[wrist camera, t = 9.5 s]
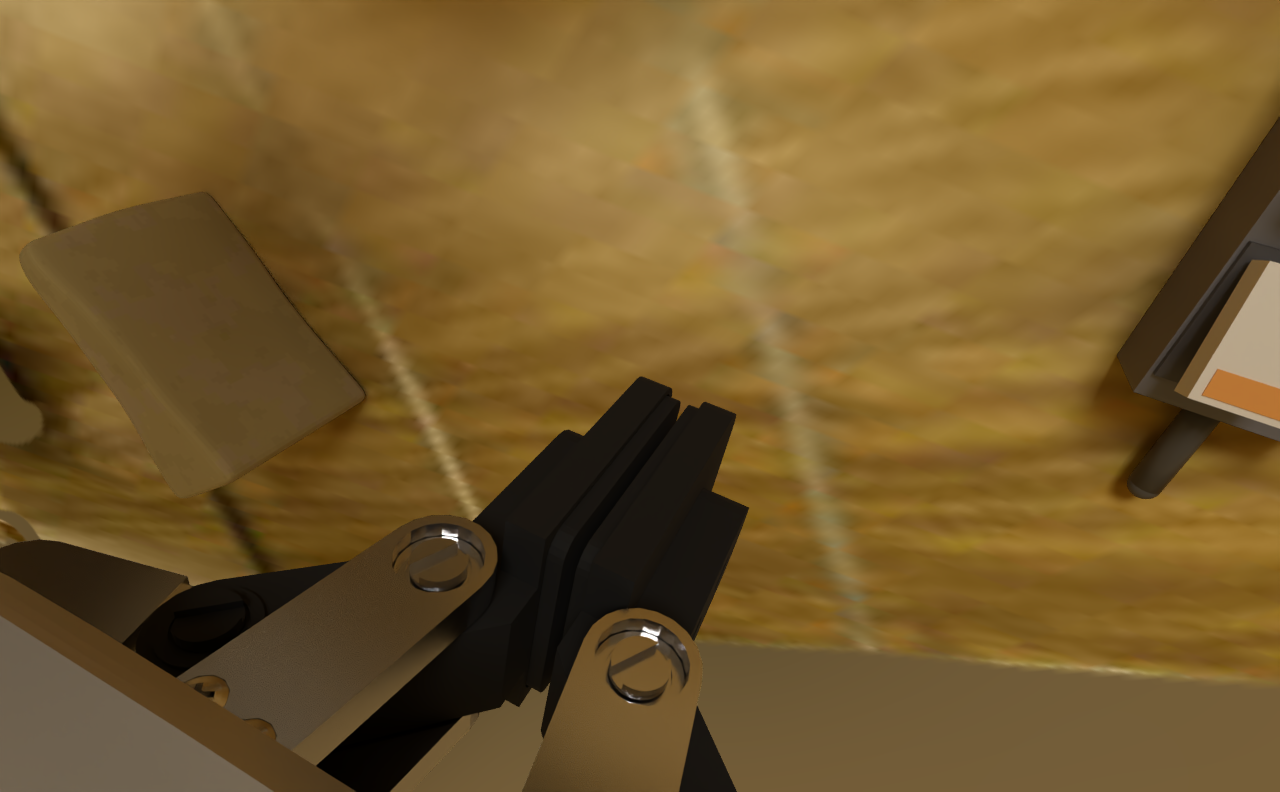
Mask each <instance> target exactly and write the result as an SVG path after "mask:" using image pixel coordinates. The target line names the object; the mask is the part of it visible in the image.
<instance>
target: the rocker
mask: <svg viewBox="0 0 1280 792" xmlns="http://www.w3.org/2000/svg"><path fill="white" fill-rule="evenodd" d="M1174 391H1176V392H1177V393H1179V394H1181V395H1183V396H1185V397H1187V398H1190V399H1193V400H1196V401H1199V402H1202V403H1205V404H1208V405H1211V406H1214V407H1217V408H1220V409H1223V410H1226V411H1229V412H1232V413H1234V414H1237V415H1240V416H1243V417H1246V418H1249V419H1252V420H1255V421H1258V422H1261V423H1264V424H1267V425H1270V426H1273V427H1276V428H1279V429H1280V263H1276V262H1273V261H1266V260H1251V262H1250V264H1249V265H1248V267H1247V269H1246V271H1245V272H1244V274H1243V276H1242V277H1241V279H1240V281H1239V282H1238V284H1237V286H1236V287H1235V289H1234V291H1233V292H1232V294H1231V296H1230V297H1229V299H1228V301H1227V302H1226V304H1225V306H1224V307H1223V309H1222V311H1221V313H1220V314H1219V316H1218V318H1217V319H1216V321H1215V323H1214V324H1213V326H1212V328H1211V329H1210V331H1209V333H1208V334H1207V336H1206V338H1205V339H1204V341H1203V343H1202V344H1201V346H1200V348H1199V349H1198V351H1197V353H1196V354H1195V356H1194V358H1193V360H1192V361H1191V363H1190V365H1189V366H1188V368H1187V370H1186V371H1185V373H1184V375H1183V376H1182V378H1181V380H1180V381H1179V383H1178V385H1177V386H1176V388H1175V390H1174Z"/></svg>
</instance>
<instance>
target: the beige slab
mask: <svg viewBox="0 0 1280 792" xmlns="http://www.w3.org/2000/svg"><path fill="white" fill-rule="evenodd" d="M20 263H21V266H22V269H23V270H24V272H25V274H26V276H27V278H28V279H29V281H30V283H31V284H32V286H33V287H34V288H35V290H36V291H37V292H38V294H39V295H40V296H41V298H42V299H43V300H44V301H45V303H46V304H47V305H48V306H49V308H50V309H51V310H52V311H53V313H54V314H55V315H56V316H57V318H58V319H59V320H60V322H61V323H62V324H63V326H64V327H65V328H66V329H67V331H68V332H69V333H70V335H71V336H72V337H73V339H74V340H75V342H76V343H77V344H78V346H79V347H80V348H81V350H82V351H83V352H84V354H85V355H86V357H87V358H88V359H89V361H90V362H91V363H92V365H93V366H94V367H95V369H96V370H97V371H98V373H99V374H100V376H101V377H102V378H103V380H104V381H105V382H106V384H107V385H108V387H109V388H110V389H111V391H112V392H113V394H114V395H115V397H116V398H117V399H118V401H119V402H120V404H121V405H122V407H123V408H124V410H125V412H126V413H127V415H128V416H129V418H130V420H131V421H132V423H133V425H134V426H135V428H136V430H137V432H138V433H139V435H140V437H141V439H142V441H143V442H144V444H145V446H146V448H147V450H148V451H149V453H150V455H151V457H152V458H153V460H154V462H155V464H156V465H157V467H158V469H159V471H160V472H161V474H162V475H163V477H164V479H165V480H166V482H167V484H168V485H169V487H170V488H171V490H172V491H173V492H174V494H175V495H176V496H178V497H180V498H189V497H193V496H196V495H199V494H202V493H205V492H208V491H210V490H213V489H216V488H219V487H222V486H225V485H227V484H229V483H231V482H233V481H235V480H237V479H238V478H240V477H242V476H243V475H245V474H246V473H248V472H250V471H251V470H253V469H254V468H256V467H258V466H259V465H261V464H262V463H264V462H266V461H267V460H269V459H270V458H272V457H274V456H275V455H277V454H278V453H280V452H282V451H283V450H285V449H287V448H288V447H290V446H291V445H293V444H295V443H296V442H298V441H299V440H301V439H303V438H304V437H306V436H307V435H309V434H311V433H312V432H314V431H315V430H317V429H319V428H320V427H322V426H323V425H325V424H327V423H328V422H330V421H331V420H333V419H335V418H336V417H338V416H339V415H341V414H343V413H344V412H346V411H347V410H349V409H351V408H352V407H354V406H355V405H357V404H359V403H360V402H361V401H362V400H363V399H364V398H365V393H364V391H363V389H362V388H361V387H360V386H359V384H358V383H357V382H356V381H355V380H354V378H353V377H352V376H351V375H350V374H349V373H348V371H347V370H346V369H345V368H344V367H343V366H342V365H341V363H340V362H339V361H338V360H337V359H336V358H335V356H334V355H333V354H332V353H331V352H330V351H329V349H328V348H327V347H326V346H325V345H324V344H323V342H322V341H321V340H320V339H319V338H318V337H317V335H316V334H315V333H314V332H313V331H312V329H311V328H310V327H309V326H308V325H307V323H306V322H305V321H304V320H303V318H302V317H301V316H300V315H299V313H298V312H297V311H296V310H295V308H294V307H293V306H292V304H291V303H290V302H289V300H288V299H287V298H286V296H285V295H284V294H283V292H282V291H281V290H280V288H279V287H278V285H277V284H276V283H275V281H274V280H273V278H272V277H271V275H270V274H269V272H268V271H267V270H266V268H265V267H264V265H263V264H262V262H261V261H260V260H259V258H258V257H257V255H256V254H255V253H254V251H253V250H252V248H251V247H250V246H249V244H248V243H247V242H246V240H245V239H244V238H243V236H242V235H241V234H240V233H239V231H238V230H237V229H236V227H235V226H234V225H233V223H232V222H231V221H230V220H229V218H228V217H227V216H226V214H225V213H224V212H223V211H222V209H221V208H220V207H219V205H218V204H217V203H216V202H215V201H214V199H213V198H212V197H211V196H210V195H208V194H206V193H203V192H199V193H194V194H189V195H184V196H179V197H175V198H170V199H165V200H160V201H156V202H151V203H147V204H142V205H138V206H134V207H130V208H126V209H122V210H119V211H116V212H112V213H109V214H106V215H103V216H100V217H97V218H94V219H92V220H89V221H86V222H83V223H81V224H78V225H75V226H72V227H70V228H67V229H64V230H61V231H59V232H56V233H53V234H50V235H47V236H45V237H42V238H39V239H36V240H34V241H31V242H30V243H28V244H27V245H26V246H25V247H24V248H23V249H22V251H21V253H20Z"/></svg>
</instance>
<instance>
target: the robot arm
mask: <svg viewBox="0 0 1280 792" xmlns="http://www.w3.org/2000/svg"><path fill="white" fill-rule="evenodd" d="M671 397H672V388H670V387H667V386H665V385H662V384H660V383H657V382H655V381H652V380H650V379H647V378H645V377H639V378H638V379H637V380H636V381H635V382H634V383H633V384H632V385H631V386H630V387H629V388H628V389H627V390H626V391H625V392H624V393H623V395H622V396H621V397H620V398H619V399H618V400H617V401H616V402H615V403H614V404H613V405H612V406H611V407H610V409H609V410H608V411H607V412H606V413H605V414H604V415H603V416H602V417H601V418H600V419H599V420H598V421H597V423H596V424H595V425H594V426H593V427H592V428H591V429H590V430H589V431H588V432H587V433H586V434H585V435H584V436H582V435H580V434H578V433H575V432H573V431H571V430H564V431H563V432H562V433H560V434H559V435H558V436H557V437H556V438H555V439H554V440H553V441H552V442H551V443H550V444H549V445H548V446H547V447H546V448H545V449H544V450H543V451H542V452H541V453H540V454H539V455H538V456H537V457H536V458H535V459H534V460H533V461H532V462H531V463H530V464H529V465H528V466H527V467H526V468H525V469H524V470H523V471H522V472H521V473H520V474H519V475H518V476H517V477H516V478H515V479H514V480H513V481H512V482H511V483H510V484H509V485H508V486H507V487H506V488H505V489H504V490H503V491H502V492H501V493H500V494H499V495H498V496H497V497H496V498H495V499H494V500H493V501H492V502H491V503H490V504H489V505H488V506H487V507H486V508H485V509H484V510H483V511H482V512H481V513H480V514H479V515H478V516H477V517H476V518H475V519H474V520H473V521H470V520H468V519H466V518H461V517H456V516H452V515H431V516H427V517H423V518H419V519H415V520H413V521H411V522H409V523H407V524H405V525H403V526H401V527H399V528H398V529H396V530H395V531H393V532H392V533H390V534H389V535H387V536H386V537H384V538H383V539H381V540H380V541H378V542H377V543H375V544H374V545H372V546H371V547H369V548H368V549H366V550H365V551H363V552H362V553H360V554H359V555H358V556H356V557H355V558H353V559H352V560H350V561H347V562H340V563H333V564H326V565H319V566H312V567H305V568H298V569H291V570H284V571H277V572H270V573H264V574H257V575H250V576H243V577H236V578H229V579H222V580H216V581H212V582H208V583H204V584H200V585H196V586H191V585H190V584H189V580H188V577H187V576H184V575H180V574H177V573H173V572H169V571H166V570H162V569H158V568H155V567H151V566H147V565H144V564H140V563H136V562H133V561H129V560H125V559H122V558H118V557H114V556H111V555H107V554H103V553H100V552H96V551H92V550H89V549H85V548H81V547H78V546H74V545H70V544H67V543H63V542H59V541H50V540H40V539H39V540H32V541H24V542H17V543H13V544H10V545H7V546H4V547H1V548H0V792H412V791H413V790H414V789H415V788H416V786H417V785H418V784H419V783H420V782H421V781H422V780H423V779H424V778H425V777H426V776H427V775H428V774H429V773H430V772H431V770H432V769H433V768H434V767H435V766H436V765H437V764H438V763H439V762H440V761H441V759H443V758H444V756H445V755H446V754H447V753H448V752H449V751H450V750H451V749H452V748H453V747H454V746H455V744H457V742H458V741H459V740H460V739H461V738H462V737H463V736H464V735H465V734H466V733H467V732H468V731H469V730H470V728H471V727H472V725H473V724H474V722H475V721H476V719H477V718H478V716H479V713H480V712H483V711H487V710H491V709H496V708H499V707H501V705H502V704H503V702H504V701H505V700H507V701H509V702H511V703H512V704H514V705H516V706H518V707H519V706H520V705H521V703H522V701H523V700H524V698H525V697H526V695H527V694H528V692H529V691H530V689H531V688H534V689H535V690H537V691H539V692H543V691H544V690H545V688H546V687H547V686H548V684H549V683H550V686H549V691H548V696H547V701H546V706H545V712H544V717H543V722H542V727H541V732H542V737H543V741H542V743H541V746H540V748H539V751H538V753H537V756H536V758H535V761H534V763H533V766H532V768H531V770H530V773H529V776H528V778H527V780H526V783H525V785H524V788H523V790H522V792H737V791H736V789H735V787H734V785H733V782H732V780H731V778H730V776H729V774H728V772H727V769H726V767H725V765H724V763H723V761H722V758H721V756H720V754H719V752H718V750H717V748H716V745H715V743H714V741H713V739H712V737H711V735H710V732H709V730H708V728H707V726H706V724H705V721H704V719H703V717H702V715H701V713H700V711H699V709H698V706H697V703H698V698H699V693H700V688H701V683H702V665H703V663H702V660H701V657H700V654H699V651H698V647H697V646H696V644H695V643H694V640H695V638H696V635H697V633H698V631H699V629H700V626H701V624H702V622H703V619H704V617H705V615H706V613H707V610H708V608H709V606H710V604H711V601H712V599H713V597H714V595H715V592H716V590H717V588H718V585H719V583H720V581H721V578H722V576H723V574H724V571H725V569H726V566H727V564H728V562H729V559H730V557H731V554H732V552H733V549H734V547H735V544H736V542H737V539H738V536H739V534H740V531H741V529H742V526H743V523H744V521H745V518H746V515H747V513H748V510H749V507H746V506H744V505H742V504H739V503H737V502H735V501H732V500H730V499H728V498H725V497H723V496H721V495H719V494H716V493H714V492H712V488H713V485H714V482H715V479H716V476H717V473H718V470H719V467H720V464H721V461H722V458H723V455H724V452H725V449H726V446H727V443H728V440H729V437H730V434H731V431H732V428H733V425H734V422H735V419H736V414H735V413H732V412H730V411H727V410H725V409H722V408H720V407H717V406H715V405H712V404H710V403H707V402H703V404H702V405H701V406H700V408H699V409H698V408H696V407H693V406H691V405H688V406H687V408H686V409H685V410H684V412H683V413H682V414H681V416H680V417H679V419H678V420H677V416H678V413H679V409H680V401H679V400H676V399H674V398H671ZM676 420H677V421H676Z"/></svg>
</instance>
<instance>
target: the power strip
mask: <svg viewBox="0 0 1280 792" xmlns="http://www.w3.org/2000/svg"><path fill="white" fill-rule="evenodd" d="M1251 260H1266V261H1273V262H1276V263H1280V117H1279V119H1278V120H1277V122H1276V123H1275V125H1274V126H1273V127H1272V129H1271V130H1270V132H1269V133H1268V135H1267V136H1266V138H1265V139H1264V141H1263V142H1262V144H1261V145H1260V146H1259V148H1258V149H1257V151H1256V152H1255V154H1254V155H1253V157H1252V158H1251V160H1250V161H1249V163H1248V164H1247V166H1246V167H1245V168H1244V170H1243V171H1242V173H1241V174H1240V176H1239V177H1238V179H1237V180H1236V182H1235V183H1234V185H1233V186H1232V187H1231V189H1230V190H1229V192H1228V193H1227V195H1226V196H1225V198H1224V199H1223V201H1222V202H1221V204H1220V205H1219V207H1218V208H1217V209H1216V211H1215V212H1214V214H1213V215H1212V217H1211V218H1210V220H1209V221H1208V223H1207V224H1206V226H1205V227H1204V228H1203V230H1202V231H1201V233H1200V234H1199V236H1198V237H1197V239H1196V240H1195V242H1194V243H1193V245H1192V246H1191V247H1190V249H1189V250H1188V252H1187V253H1186V255H1185V256H1184V258H1183V259H1182V261H1181V262H1180V264H1179V265H1178V267H1177V268H1176V269H1175V271H1174V272H1173V274H1172V275H1171V277H1170V278H1169V280H1168V281H1167V283H1166V284H1165V286H1164V287H1163V288H1162V290H1161V291H1160V293H1159V294H1158V296H1157V297H1156V299H1155V300H1154V302H1153V303H1152V305H1151V306H1150V308H1149V309H1148V310H1147V312H1146V313H1145V315H1144V316H1143V318H1142V319H1141V321H1140V322H1139V324H1138V325H1137V327H1136V328H1135V329H1134V331H1133V332H1132V334H1131V335H1130V337H1129V338H1128V340H1127V341H1126V343H1125V344H1124V346H1123V347H1122V349H1121V350H1120V351H1119V353H1118V354H1117V357H1118V359H1119V361H1120V364H1121V366H1122V368H1123V370H1124V372H1125V375H1126V377H1127V379H1128V381H1129V383H1130V386H1131V388H1132V390H1133V392H1135V393H1138V394H1141V395H1144V396H1147V397H1150V398H1153V399H1156V400H1159V401H1162V402H1165V403H1168V404H1171V405H1174V406H1177V407H1180V408H1183V409H1182V410H1181V411H1180V412H1179V414H1178V415H1177V416H1176V418H1175V419H1174V420H1173V421H1172V423H1171V424H1170V425H1169V426H1168V428H1167V429H1166V430H1165V432H1164V433H1163V434H1162V435H1161V437H1160V438H1159V439H1158V440H1157V442H1156V443H1155V444H1154V446H1153V447H1152V448H1151V449H1150V451H1149V452H1148V453H1147V454H1146V456H1145V457H1144V458H1143V459H1142V461H1141V462H1140V463H1139V465H1138V466H1137V467H1136V468H1135V470H1134V471H1133V472H1132V473H1131V475H1130V476H1129V478H1128V480H1127V487H1128V489H1129V491H1130V492H1131V493H1132V494H1133V495H1134V496H1136V497H1138V498H1141V499H1151V498H1154V497H1156V496H1158V495H1159V494H1160V493H1161V492H1162V491H1163V489H1164V488H1165V487H1166V486H1167V485H1168V483H1169V482H1170V481H1171V480H1172V479H1173V477H1174V476H1175V475H1176V474H1177V473H1178V471H1179V470H1180V469H1181V468H1182V467H1183V465H1184V464H1185V463H1186V462H1187V461H1188V459H1189V458H1190V457H1191V456H1192V455H1193V453H1194V452H1195V451H1196V450H1197V449H1198V447H1199V446H1200V445H1201V444H1202V443H1203V442H1204V440H1205V439H1206V438H1207V437H1208V436H1209V434H1210V433H1211V432H1212V431H1213V430H1214V428H1215V427H1216V426H1217V425H1218V424H1219V422H1220V421H1221V422H1224V423H1227V424H1230V425H1233V426H1236V427H1238V428H1241V429H1244V430H1247V431H1250V432H1253V433H1256V434H1259V435H1262V436H1265V437H1268V438H1271V439H1274V440H1277V441H1280V429H1279V428H1276V427H1273V426H1270V425H1267V424H1264V423H1261V422H1258V421H1255V420H1252V419H1249V418H1246V417H1243V416H1240V415H1237V414H1234V413H1232V412H1229V411H1226V410H1223V409H1220V408H1217V407H1214V406H1211V405H1208V404H1205V403H1202V402H1199V401H1196V400H1193V399H1190V398H1187V397H1185V396H1183V395H1181V394H1179V393H1177V392H1176V391H1174V390H1175V388H1176V386H1177V385H1178V383H1179V381H1180V380H1181V378H1182V376H1183V375H1184V373H1185V371H1186V370H1187V368H1188V366H1189V365H1190V363H1191V361H1192V360H1193V358H1194V356H1195V354H1196V353H1197V351H1198V349H1199V348H1200V346H1201V344H1202V343H1203V341H1204V339H1205V338H1206V336H1207V334H1208V333H1209V331H1210V329H1211V328H1212V326H1213V324H1214V323H1215V321H1216V319H1217V318H1218V316H1219V314H1220V313H1221V311H1222V309H1223V307H1224V306H1225V304H1226V302H1227V301H1228V299H1229V297H1230V296H1231V294H1232V292H1233V291H1234V289H1235V287H1236V286H1237V284H1238V282H1239V281H1240V279H1241V277H1242V276H1243V274H1244V272H1245V271H1246V269H1247V267H1248V265H1249V264H1250V262H1251Z"/></svg>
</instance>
